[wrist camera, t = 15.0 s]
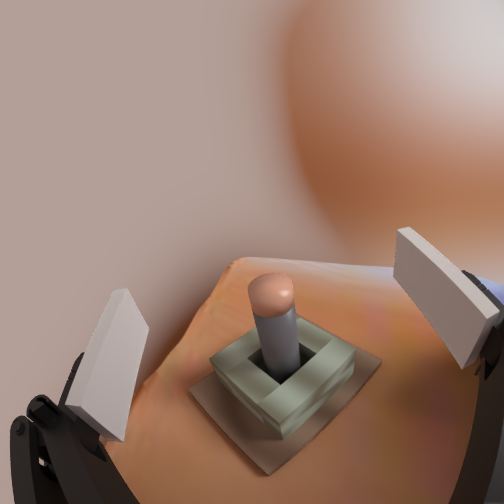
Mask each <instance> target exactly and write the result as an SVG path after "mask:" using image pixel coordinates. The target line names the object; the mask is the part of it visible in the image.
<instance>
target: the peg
mask: <svg viewBox="0 0 504 504" xmlns="http://www.w3.org/2000/svg"><path fill="white" fill-rule="evenodd" d="M248 294H249V298H250V302H251V307H252V311H253V315H254V319H255V324H256V328H257V332H258V336H259V341H260V345H261V349H262V353H263V357H264V361H265V365H266V370H267V374H268V376H270V377H271V378H272V379H273V380H275V381H276V382H277V383H279V384H280V385H282V384H283V383H284V382H285V381H286V380H287V379H289V378H290V377H291V376H292V375H293V374H295V373H296V372H297V371H298V370H299V369H300V368H301V364H300V353H299V342H298V331H297V321H296V312H295V302H294V293H293V285H292V281H291V279H290V278H289V277H288V276H286V275H283V274H279V273H270V274H265V275H261V276H259V277H257V278H255V279H254V280H253V281H251V283H250V284H249V286H248Z"/></svg>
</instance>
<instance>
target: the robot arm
mask: <svg viewBox="0 0 504 504" xmlns="http://www.w3.org/2000/svg"><path fill="white" fill-rule="evenodd" d="M393 277H394V278H395V279H396V281H397V282H398V283H399V284H400V285H401V287H402V288H403V289H404V290H405V292H406V293H407V294H408V295H409V297H410V298H411V299H412V300H413V302H414V303H415V304H416V306H417V307H418V308H419V310H420V311H421V312H422V313H423V315H424V316H425V317H426V319H427V320H428V321H429V323H430V324H431V326H432V327H433V328H434V330H435V331H436V332H437V334H438V335H439V337H440V338H441V339H442V341H443V342H444V344H445V345H446V347H447V348H448V350H449V351H450V352H451V354H452V355H453V357H454V358H455V360H456V361H457V363H458V364H459V366H460V368H461V369H464V368H465V367H467V366H469V365H471V364H472V363H474V362H475V361H476V359H477V357H478V355H479V353H481V360H482V361H481V362H480V364H479V366H478V367H477V369H476V371H475V374H474V375H477V373H478V372H479V370H480V369H481V372H480V383H479V391H478V398H477V405H476V411H475V417H474V422H473V427H472V432H471V436H470V440H469V444H468V448H467V452H466V455H465V459H464V462H463V466H462V469H461V472H460V475H459V478H458V481H457V484H456V486H455V489H454V492H453V494H452V497H451V499H450V502H449V504H504V305H503V304H502V303H501V302H500V301H499V300H498V299H497V298H496V297H495V296H494V295H493V294H492V293H491V292H490V291H489V290H487V288H486V287H485V286H484V285H483V284H481V282H480V281H479V280H478V279H477V278H476V277H475V276H474V275H472V274H470V273H468V272H466V271H465V270H463V271H460V270H459V269H458V268H457V267H456V266H454V264H452V263H451V262H450V261H449V260H448V259H447V258H446V257H445V256H443V255H442V254H441V253H440V252H439V251H438V250H437V249H435V248H434V247H433V246H432V245H431V244H430V243H428V242H427V241H426V240H425V239H424V238H422V237H421V236H420V235H419V234H417V233H416V232H415V231H414V230H413V229H411V228H410V227H407V228H402V229H398V230H397V237H396V252H395V265H394V274H393ZM148 331H149V328H148V326H147V324H146V322H145V321H144V319H143V317H142V315H141V313H140V311H139V310H138V308H137V306H136V304H135V302H134V300H133V298H132V296H131V294H130V293H129V291H128V289H127V288H122V289H117V290H114V291H113V293H112V295H111V297H110V299H109V301H108V303H107V305H106V307H105V309H104V311H103V313H102V316H101V318H100V320H99V322H98V324H97V326H96V328H95V331H94V333H93V335H92V337H91V340H90V342H89V344H88V346H87V349H86V351H85V352H83V353H81V354H80V356H79V357H78V358H77V359H76V361H75V363H74V365H73V367H72V370H71V373H70V375H69V377H68V380H67V383H66V385H65V387H64V390H63V393H62V395H61V398H60V401H59V404H58V406H57V405H55V404H54V403H53V402H52V401H51V400H50V399H49V398H48V397H47V396H45V395H38V396H36V397H35V398H33V399H32V400H31V402H30V403H29V405H28V407H27V417H28V418H30V419H31V420H32V421H33V422H31V421H30V420H29V419H27V418H26V417H25V416H19V417H17V418H16V419H15V420H14V421H13V423H12V425H11V429H10V458H11V459H10V461H11V477H12V486H13V494H14V502H15V504H140V503H139V502H138V500H137V499H136V497H135V496H134V495H133V493H132V492H131V490H130V489H129V487H128V486H127V484H126V483H125V481H124V480H123V478H122V476H121V475H120V473H119V472H118V470H117V468H116V467H115V465H114V463H113V462H112V460H111V458H110V456H109V455H108V453H107V451H106V449H105V447H104V445H103V444H102V443H101V442H100V441H99V436H100V435H102V436H103V437H104V438H106V439H107V440H108V441H118V442H124V437H125V431H126V426H127V421H128V415H129V410H130V406H131V401H132V396H133V391H134V387H135V383H136V378H137V374H138V370H139V365H140V361H141V358H142V353H143V350H144V346H145V342H146V339H147V335H148ZM39 458H40V459H42V460H43V461H44V466H42V465H41V464H39Z"/></svg>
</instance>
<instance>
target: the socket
mask: <svg viewBox="0 0 504 504" xmlns="http://www.w3.org/2000/svg"><path fill="white" fill-rule="evenodd" d="M296 321H297V331H298V342H299V353H300V364H301V368H300V369H299V370H298V371H297V372H296V373H295V374H293V375H292V376H291V377H290V378H289V379H287V380H286V381H285V382H284V383H283V384H282V385H280V384H279V383H277V382H276V381H275V380H273V379H272V378H271V377H270V376H268V374H267V370H266V365H265V361H264V357H263V353H262V349H261V345H260V341H259V336H258V332H257V328H256V327H255V328H253V329H252V330H251V331H249V332H248V333H246V334H245V335H243V336H242V337H240V338H239V339H238V340H236V341H235V342H233V343H232V344H230V345H229V346H227V347H226V348H224V349H223V350H221V351H220V352H218V353H217V354H215V355H214V356H212V357H211V358H209V359H210V361H211V364H212V366H213V368H214V370H215V371H214V372H213V373H211V374H210V375H208V376H207V377H205V378H204V379H202V380H201V381H199V382H197V383H196V384H194V385H193V386H191V387H190V388H188V390H189V392H190V393H191V394H192V396H193V397H194V398H195V399H196V400H197V402H198V403H199V404H200V405H201V406H202V408H203V409H204V410H205V411H206V412H207V413H208V415H209V416H210V417H211V418H212V419H213V420H214V421H215V422H216V424H217V425H218V426H219V427H220V428H221V429H222V430H223V431H224V432H225V433H226V434H227V436H228V437H229V438H230V439H231V440H232V441H233V442H234V443H235V444H236V445H237V446H238V447H239V448H240V449H241V450H242V451H243V452H244V453H245V454H246V455H247V456H248V457H249V458H250V459H251V460H252V461H253V462H254V463H255V464H256V465H257V466H258V467H260V468H261V469H262V470H263V471H264V472H265V473H266V474H267V475H268V476H270V475H271V474H273V473H274V472H275V471H276V470H278V469H279V468H280V467H281V466H283V465H284V464H285V463H286V462H288V461H289V460H290V459H291V458H292V457H293V456H295V455H296V454H297V453H298V452H299V451H300V450H302V449H303V448H304V447H305V446H306V445H307V444H308V443H309V442H310V441H311V440H313V439H314V438H315V437H316V436H317V435H318V434H319V433H320V432H321V431H322V430H323V429H324V428H325V427H326V426H327V425H328V424H329V423H330V422H331V421H332V420H333V419H334V418H335V417H336V416H337V415H338V414H339V413H340V412H341V411H342V410H343V409H344V408H345V406H346V405H347V404H348V403H349V402H350V401H351V400H352V399H353V398H354V396H355V395H356V394H357V393H358V392H359V391H360V390H361V388H362V387H363V386H364V385H365V384H366V383H367V381H368V380H369V379H370V378H371V377H372V375H373V374H374V373H375V372H376V370H377V369H378V368H379V367H380V365H381V363H382V359H380V358H378V357H376V356H374V355H372V354H370V353H368V352H366V351H364V350H362V349H361V348H359V347H357V346H355V345H353V344H351V343H349V342H347V341H346V340H344V339H342V338H340V337H338V336H336V335H334V334H333V333H331V332H329V331H327V330H325V329H323V328H322V327H320V326H318V325H316V324H314V323H313V322H311V321H309V320H307V319H305V318H304V317H302V316H300V315H298V314H296Z"/></svg>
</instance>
